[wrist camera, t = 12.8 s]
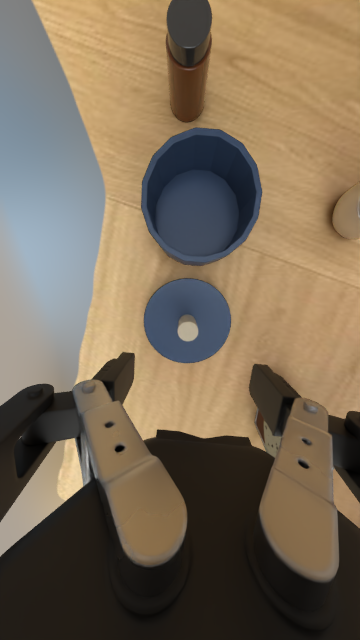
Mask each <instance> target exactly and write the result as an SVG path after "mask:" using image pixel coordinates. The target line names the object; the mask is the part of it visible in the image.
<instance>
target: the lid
mask: <svg viewBox="0 0 360 640" xmlns="http://www.w3.org/2000/svg"><path fill="white" fill-rule="evenodd" d="M144 327H145V332H146V335H147V338H148V340H149V342H150V343H151V345H152V346H153V347H154V349H155V350H156V351H157V352H158V353H160V354H161V355H162V356H164V357H166V358H168V359H170V360H172V361H176V362H180V363H195V362H199V361H202V360H205V359H207V358H209V357H211V356H212V355H214V354H215V353H216V352H217V351H218V350H219V349H220V348H221V347H222V346H223V344H224V343H225V341H226V339H227V337H228V334H229V331H230V327H231V315H230V310H229V307H228V304H227V302H226V300H225V298H224V297H223V296H222V294H221V293H220V292H219V291H218V290H217V289H216V288H214V287H213V286H212V285H210V284H208V283H206V282H204V281H201V280H197V279H188V278H185V279H178V280H174V281H172V282H169V283H167V284H165V285H164V286H162V287H161V288H159V289H158V290H157V291H156V292H155V293H154V294H153V296H152V297H151V299H150V300H149V302H148V304H147V307H146V310H145V314H144Z"/></svg>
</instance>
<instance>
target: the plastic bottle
mask: <svg viewBox="0 0 360 640" xmlns="http://www.w3.org/2000/svg"><path fill="white" fill-rule="evenodd" d="M332 221H333V226H334V228H335V230H336V231H337V232H338V233H339V234H340V235H341V236H343V237H345V238H348V239H360V182H359V183H357V184H355V185H354V186H353V187H352V188H350V189H349V190H348V191H347V192H345V193H344V194H343V195H342V196H341V198H340V199H339V201H338V202H337V204H336V206H335V209H334V212H333V218H332Z"/></svg>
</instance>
